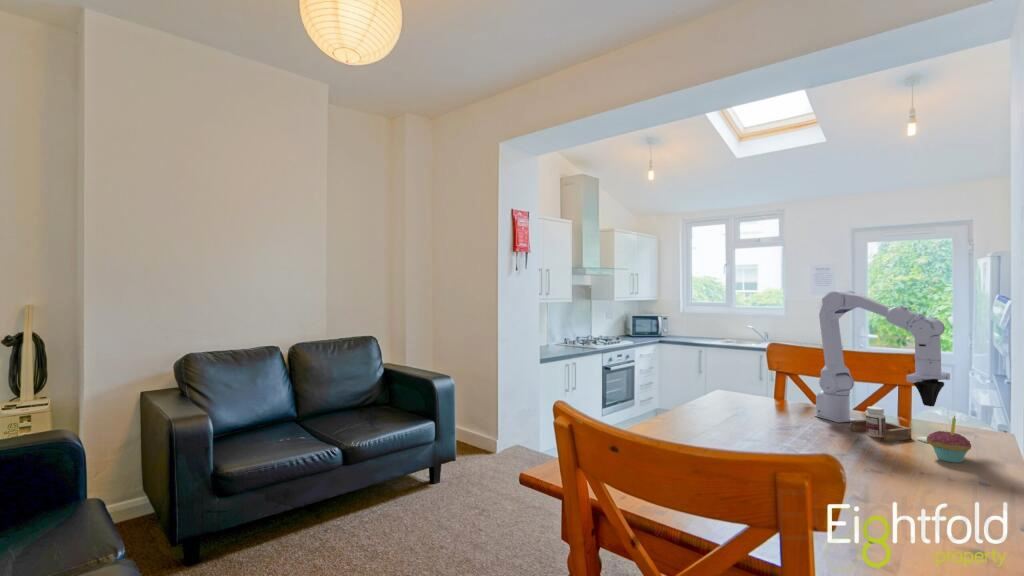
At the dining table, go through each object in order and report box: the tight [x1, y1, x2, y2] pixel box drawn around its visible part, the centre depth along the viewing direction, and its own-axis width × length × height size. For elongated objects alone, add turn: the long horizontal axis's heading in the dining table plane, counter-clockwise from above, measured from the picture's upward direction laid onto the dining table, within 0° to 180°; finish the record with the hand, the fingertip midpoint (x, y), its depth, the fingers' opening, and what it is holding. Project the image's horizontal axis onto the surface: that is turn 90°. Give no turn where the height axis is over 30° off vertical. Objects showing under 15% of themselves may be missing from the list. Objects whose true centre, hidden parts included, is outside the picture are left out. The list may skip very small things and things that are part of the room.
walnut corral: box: [850, 418, 912, 443], centre depth 144 cm, size 11×9×3 cm
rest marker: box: [916, 436, 929, 444], centre depth 138 cm, size 6×6×1 cm
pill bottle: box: [865, 405, 887, 438], centre depth 144 cm, size 5×5×8 cm
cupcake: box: [926, 415, 972, 464], centre depth 123 cm, size 9×8×12 cm
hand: (928, 405), depth 137 cm, fingers closed
